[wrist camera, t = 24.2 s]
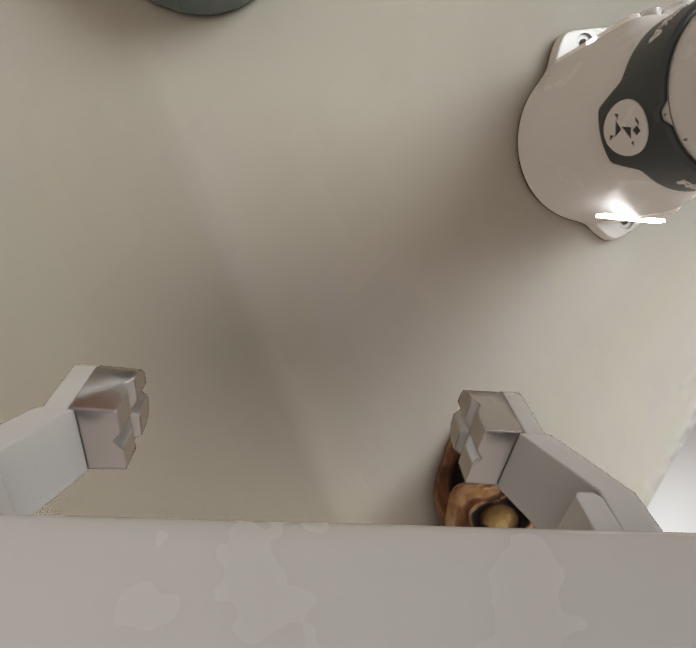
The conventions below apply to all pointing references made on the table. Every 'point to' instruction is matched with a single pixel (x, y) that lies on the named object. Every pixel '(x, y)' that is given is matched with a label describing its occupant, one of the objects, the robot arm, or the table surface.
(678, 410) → the table surface
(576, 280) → the table surface
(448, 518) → the beige skull
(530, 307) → the table surface
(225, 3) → the bowl
